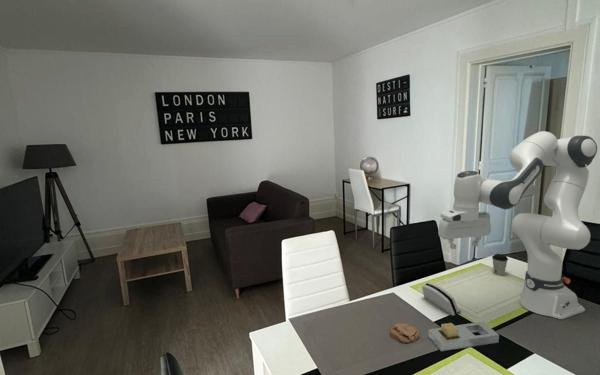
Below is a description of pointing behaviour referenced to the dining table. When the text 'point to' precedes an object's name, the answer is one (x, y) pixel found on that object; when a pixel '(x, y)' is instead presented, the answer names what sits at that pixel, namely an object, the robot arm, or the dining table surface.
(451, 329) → the wood grain block
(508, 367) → the dining table surface
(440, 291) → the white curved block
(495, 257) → the coffee cup
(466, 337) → the grey shape sorter tray
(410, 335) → the cookie
